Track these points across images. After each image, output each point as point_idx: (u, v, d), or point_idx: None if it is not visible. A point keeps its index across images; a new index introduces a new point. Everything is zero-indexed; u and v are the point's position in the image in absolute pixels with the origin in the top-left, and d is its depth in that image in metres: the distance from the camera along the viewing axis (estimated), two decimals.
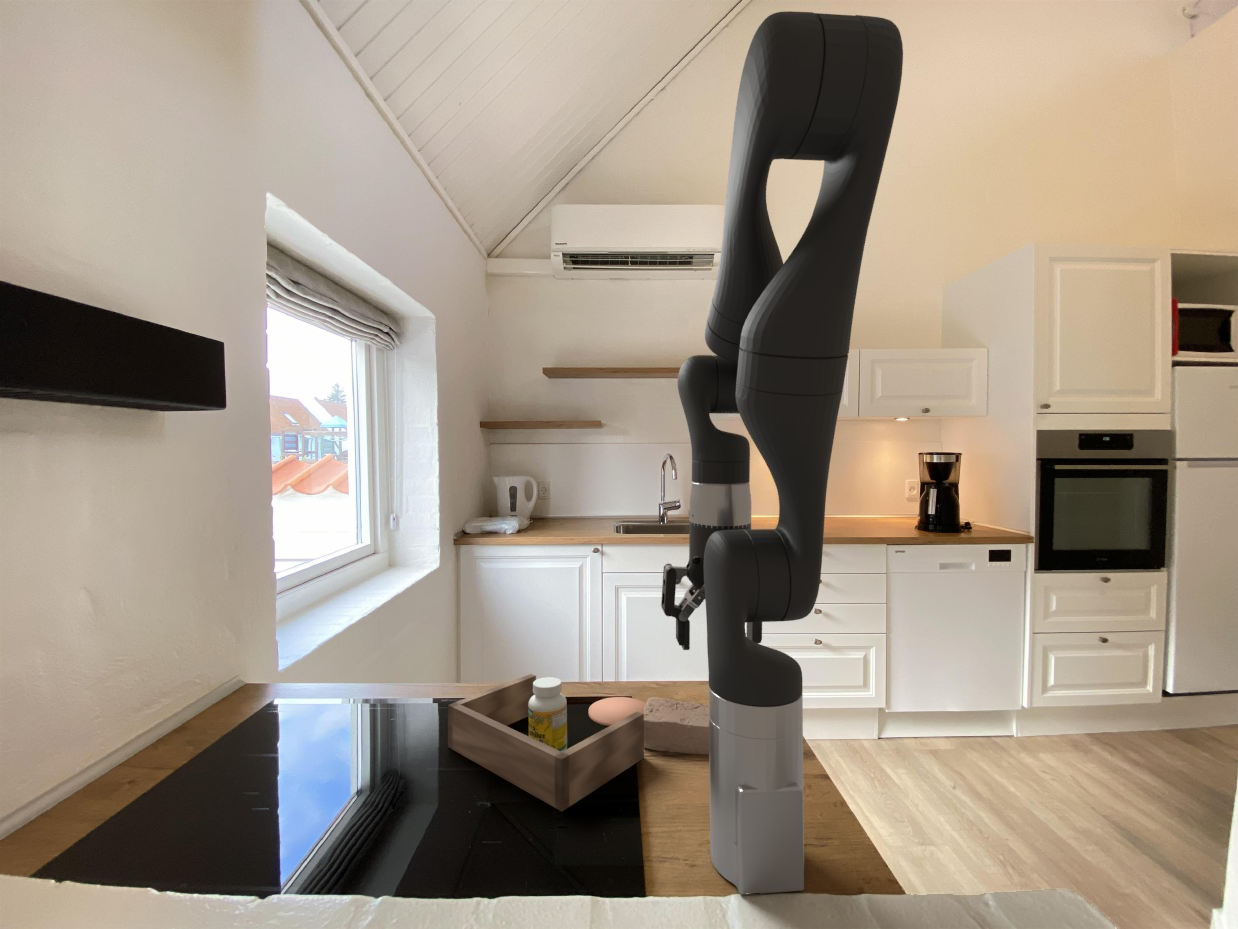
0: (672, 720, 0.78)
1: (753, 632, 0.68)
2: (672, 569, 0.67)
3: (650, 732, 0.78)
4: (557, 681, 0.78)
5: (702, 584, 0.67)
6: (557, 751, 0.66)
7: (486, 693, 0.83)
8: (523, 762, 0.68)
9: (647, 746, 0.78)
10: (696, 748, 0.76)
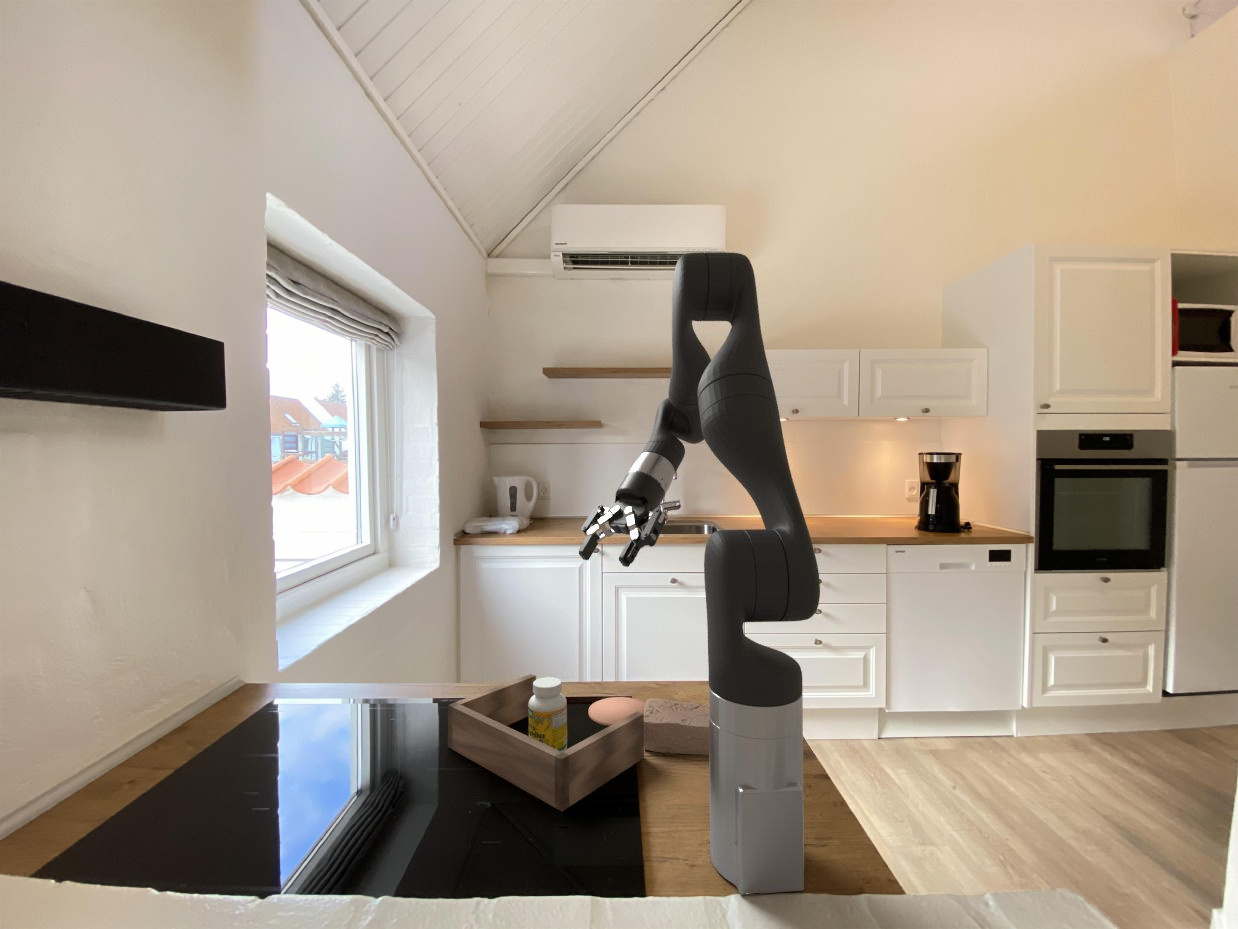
0: (674, 721, 0.78)
1: (624, 547, 0.85)
2: (600, 504, 0.96)
3: (652, 734, 0.77)
4: (557, 681, 0.78)
5: None
6: (557, 751, 0.66)
7: (486, 693, 0.83)
8: (523, 762, 0.68)
9: (648, 748, 0.77)
10: (698, 748, 0.76)
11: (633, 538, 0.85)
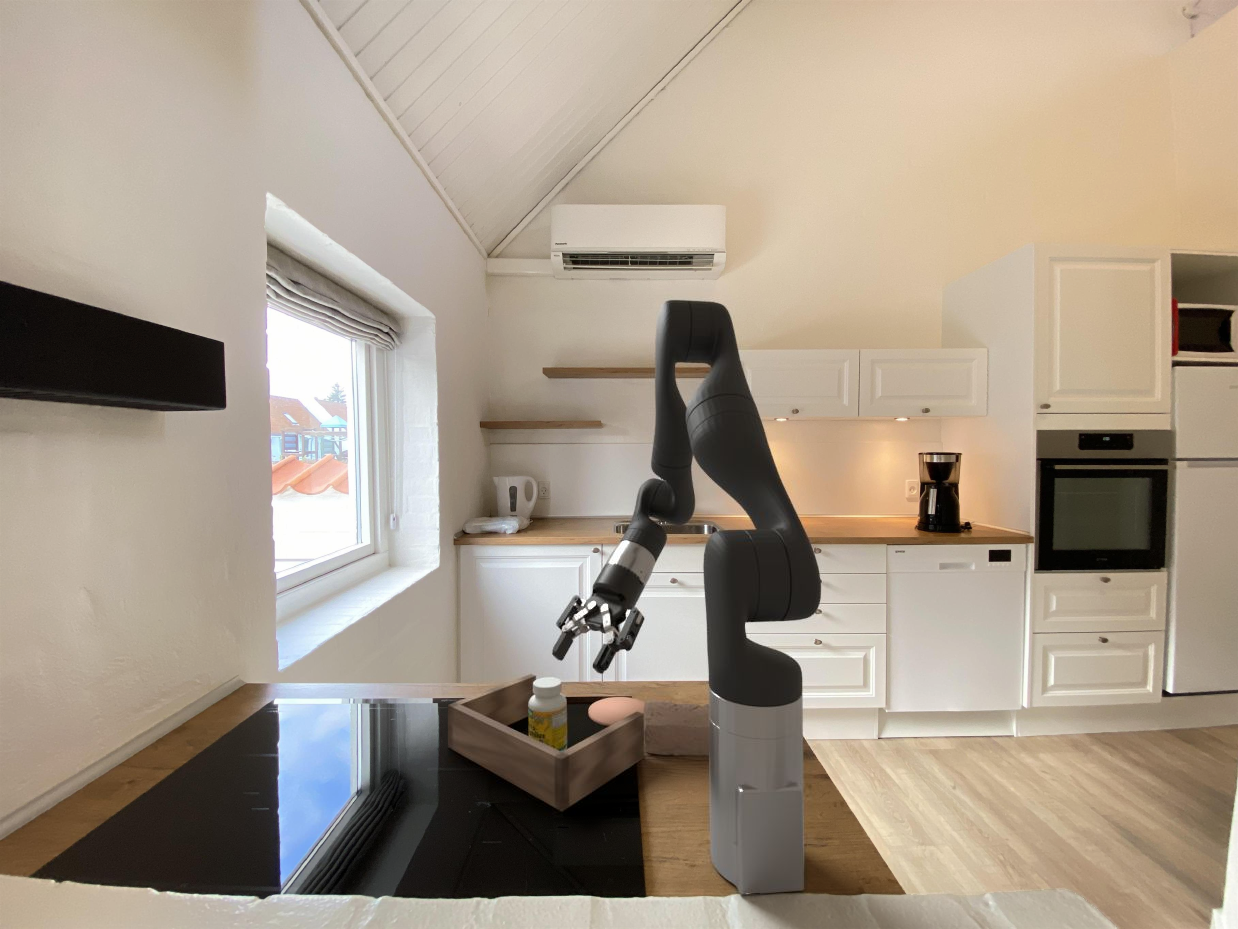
0: (676, 723, 0.77)
1: (599, 653, 0.80)
2: (576, 596, 0.91)
3: (655, 736, 0.76)
4: (557, 681, 0.78)
5: None
6: (557, 751, 0.66)
7: (486, 693, 0.83)
8: (523, 762, 0.68)
9: (651, 751, 0.76)
10: (701, 749, 0.76)
11: (608, 642, 0.81)
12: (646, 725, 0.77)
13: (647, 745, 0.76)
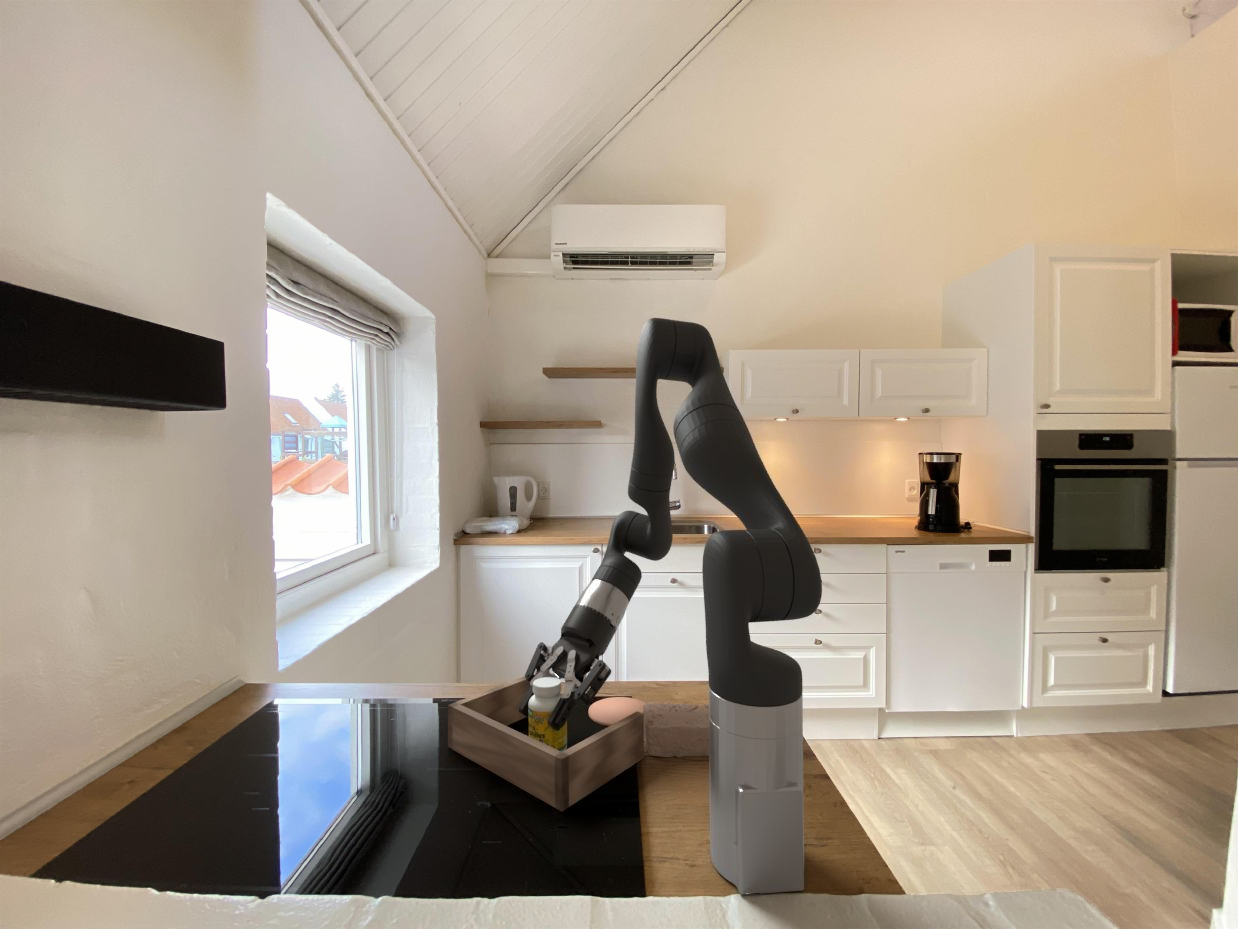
0: (679, 724, 0.77)
1: (555, 708, 0.75)
2: (541, 643, 0.85)
3: (658, 739, 0.76)
4: (557, 680, 0.78)
5: None
6: (557, 751, 0.66)
7: (486, 693, 0.83)
8: (523, 762, 0.68)
9: (655, 754, 0.76)
10: (704, 749, 0.76)
11: (565, 697, 0.76)
12: (649, 728, 0.76)
13: (650, 748, 0.76)
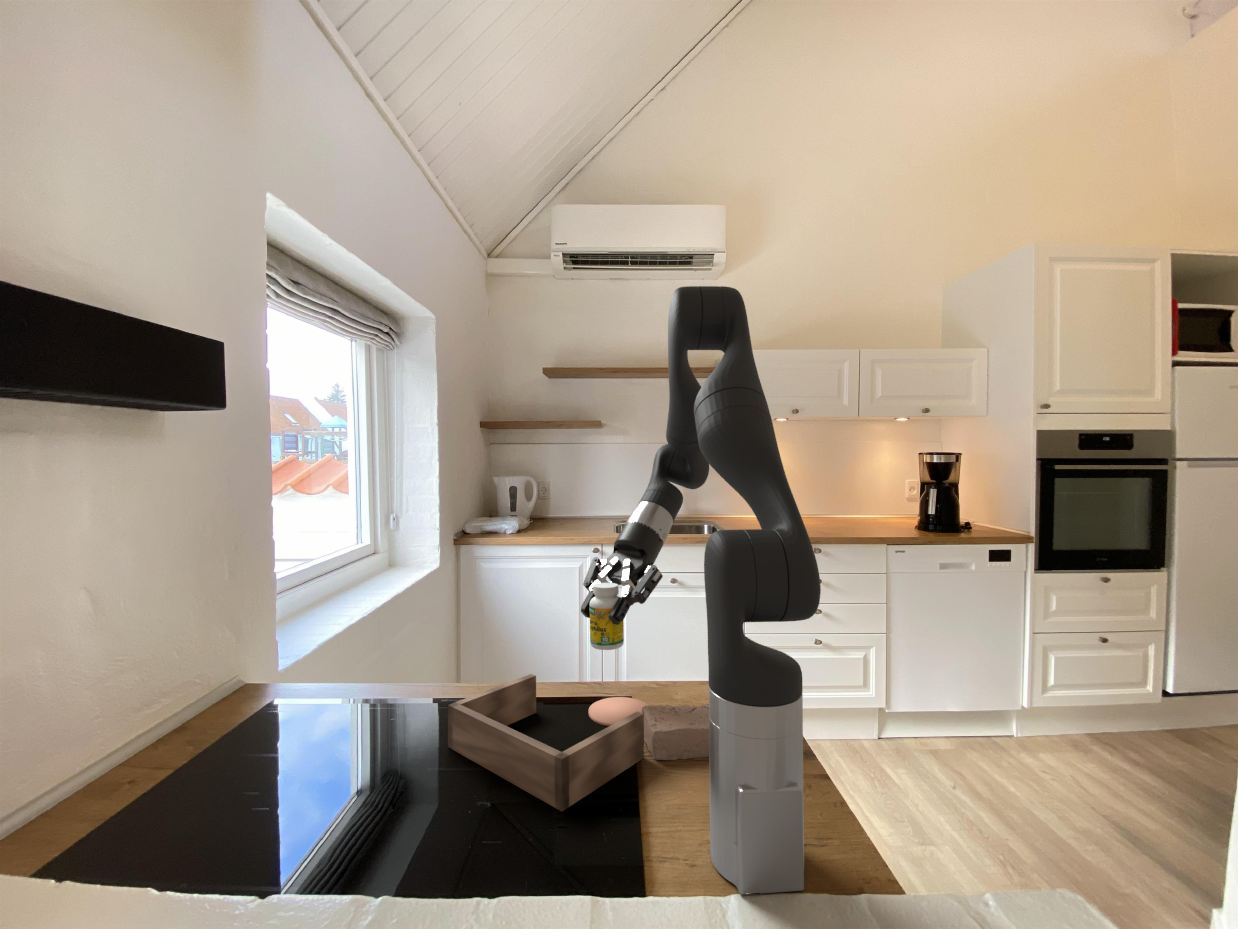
0: (683, 726, 0.76)
1: (615, 605, 0.85)
2: (596, 557, 0.95)
3: (663, 742, 0.75)
4: (614, 584, 0.88)
5: None
6: (557, 751, 0.66)
7: (486, 693, 0.83)
8: (523, 762, 0.68)
9: (660, 757, 0.75)
10: None
11: (623, 595, 0.86)
12: (654, 731, 0.75)
13: (655, 752, 0.75)
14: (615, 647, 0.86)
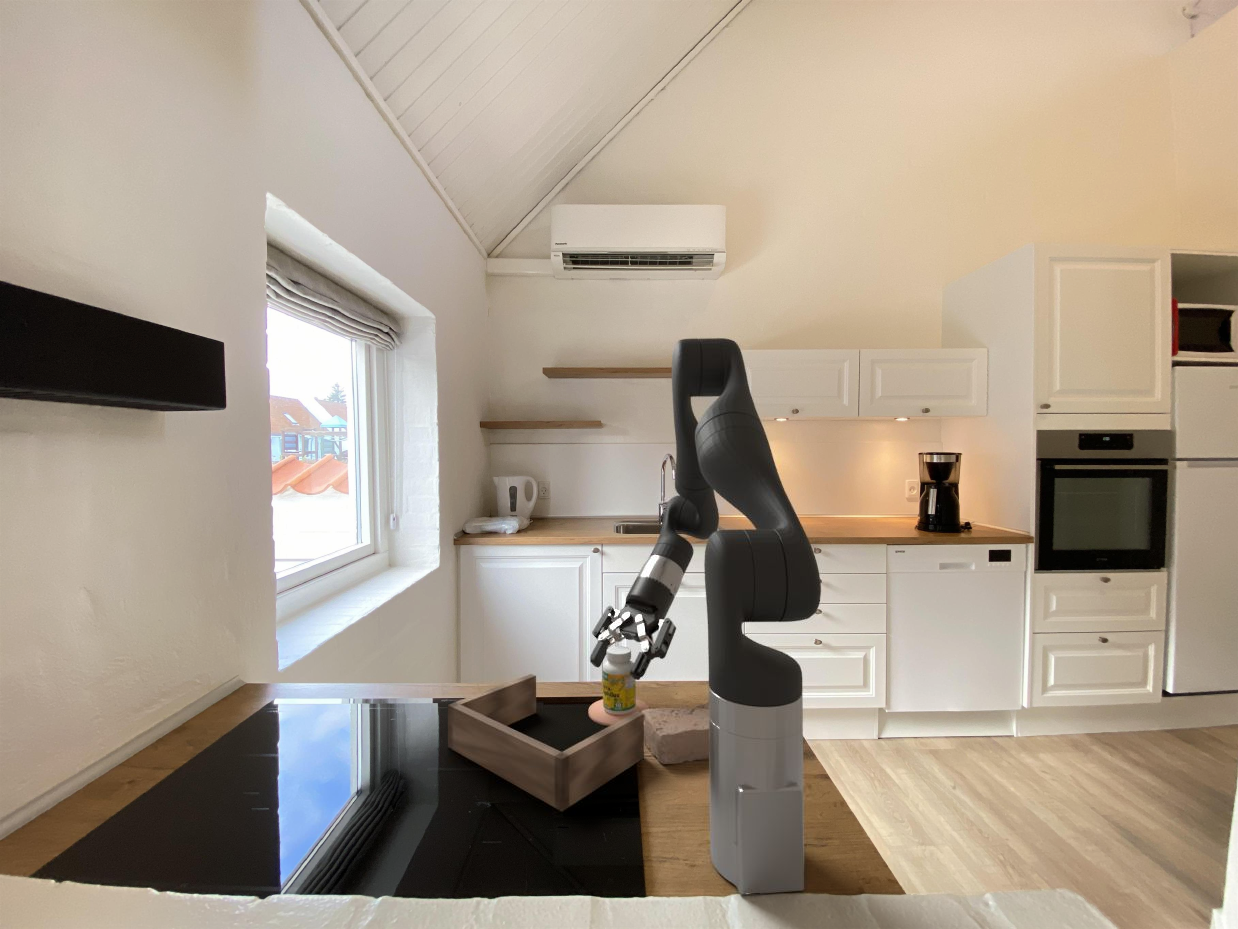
0: (689, 728, 0.75)
1: (635, 660, 0.87)
2: (610, 606, 0.98)
3: (671, 746, 0.74)
4: (627, 649, 0.90)
5: None
6: (557, 751, 0.66)
7: (486, 693, 0.83)
8: (523, 762, 0.68)
9: (668, 761, 0.74)
10: None
11: (644, 651, 0.87)
12: (661, 735, 0.74)
13: (663, 756, 0.74)
14: (628, 712, 0.88)
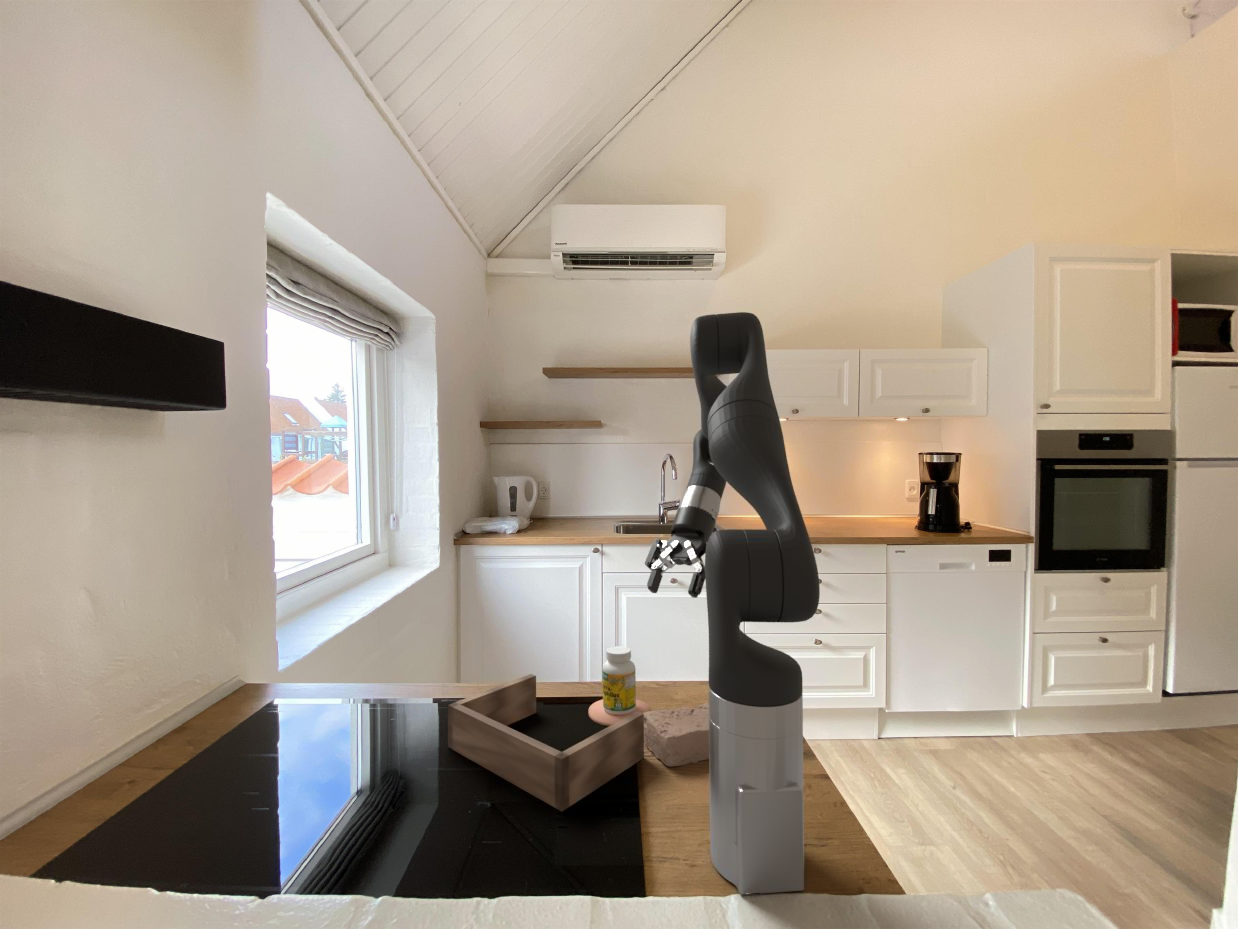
0: (693, 729, 0.75)
1: (691, 581, 0.95)
2: (657, 538, 1.05)
3: (676, 748, 0.73)
4: (626, 649, 0.90)
5: None
6: (557, 751, 0.66)
7: (486, 693, 0.83)
8: (523, 762, 0.68)
9: (673, 764, 0.73)
10: None
11: (698, 571, 0.95)
12: (667, 738, 0.73)
13: (669, 759, 0.73)
14: (628, 712, 0.88)
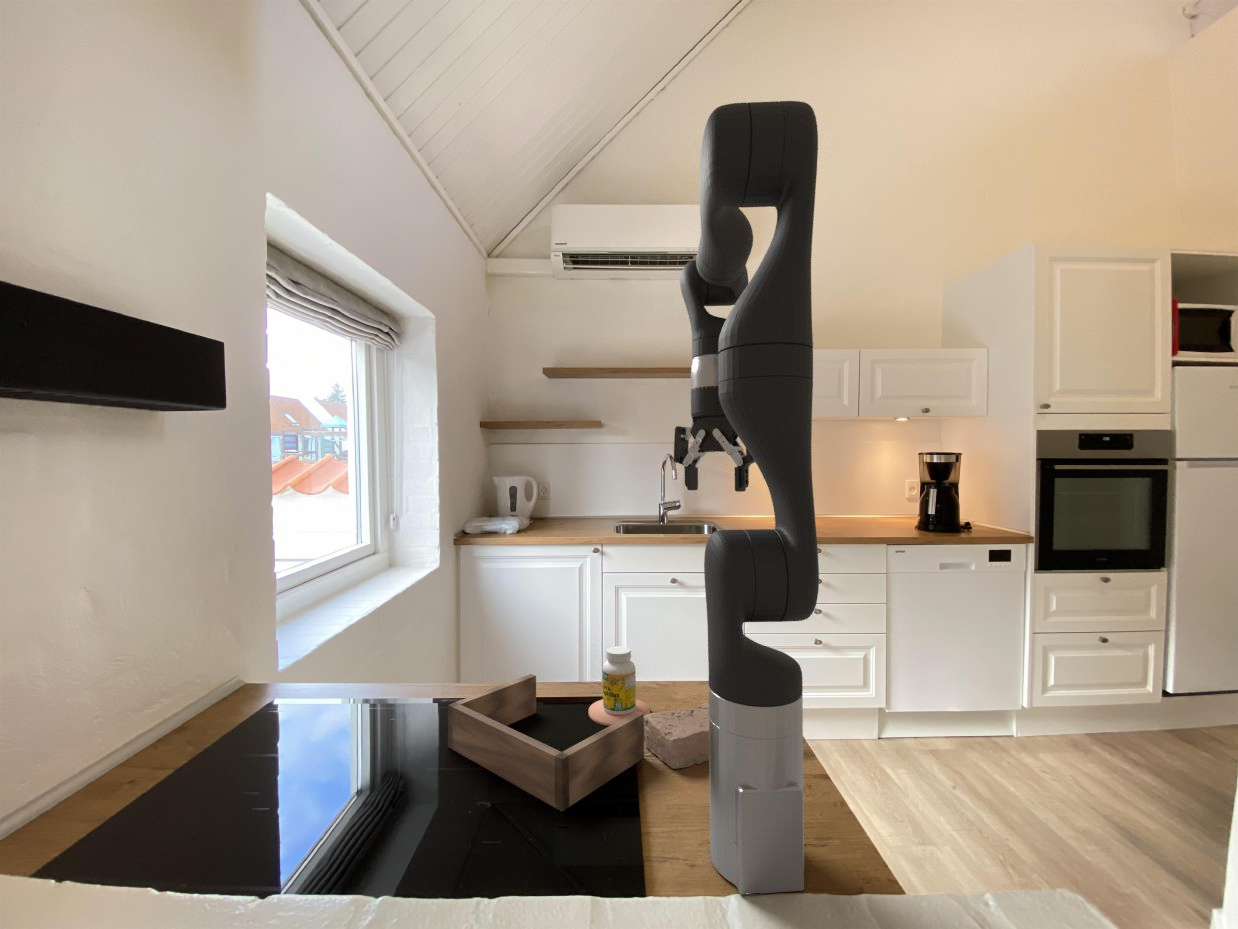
0: (697, 730, 0.75)
1: (735, 477, 0.83)
2: (678, 427, 0.89)
3: (681, 749, 0.73)
4: (626, 649, 0.90)
5: None
6: (557, 751, 0.66)
7: (486, 693, 0.83)
8: (523, 762, 0.68)
9: (679, 766, 0.72)
10: None
11: (739, 464, 0.82)
12: (672, 740, 0.73)
13: (674, 761, 0.72)
14: (628, 712, 0.88)
